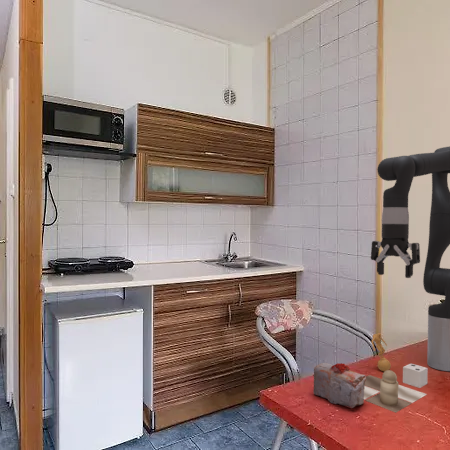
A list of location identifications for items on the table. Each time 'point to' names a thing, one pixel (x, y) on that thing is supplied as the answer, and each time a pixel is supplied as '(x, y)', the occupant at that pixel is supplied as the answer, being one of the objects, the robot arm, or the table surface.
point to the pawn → (389, 388)
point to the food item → (339, 384)
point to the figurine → (383, 362)
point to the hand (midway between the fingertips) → (394, 276)
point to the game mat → (402, 393)
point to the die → (415, 375)
